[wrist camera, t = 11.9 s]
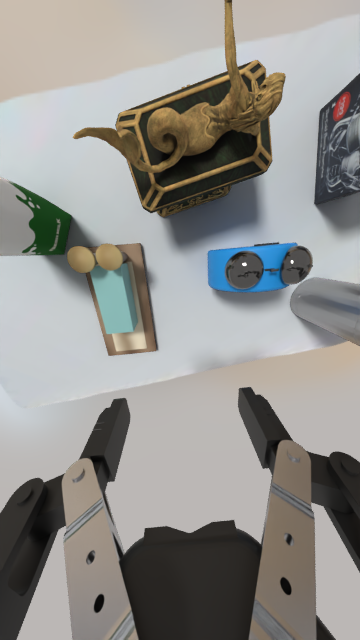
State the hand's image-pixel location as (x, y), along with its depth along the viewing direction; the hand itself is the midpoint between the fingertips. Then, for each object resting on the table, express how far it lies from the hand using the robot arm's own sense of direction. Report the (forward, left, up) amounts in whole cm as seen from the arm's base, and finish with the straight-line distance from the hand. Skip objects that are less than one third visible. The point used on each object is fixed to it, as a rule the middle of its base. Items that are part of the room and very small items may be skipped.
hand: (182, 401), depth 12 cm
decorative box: (-3, -21, -27) cm, 34 cm away
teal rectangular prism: (+10, -3, -25) cm, 27 cm away
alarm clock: (-13, -7, -27) cm, 30 cm away
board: (+11, 0, -26) cm, 28 cm away
